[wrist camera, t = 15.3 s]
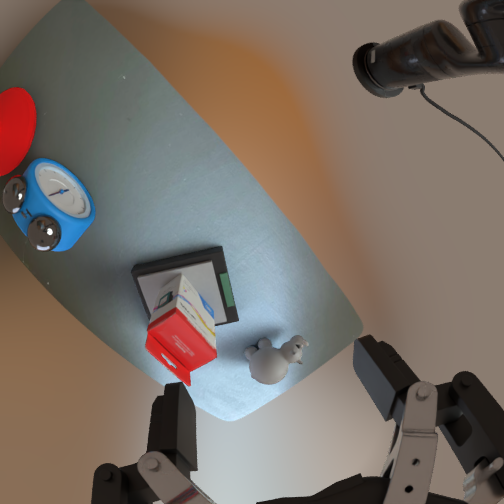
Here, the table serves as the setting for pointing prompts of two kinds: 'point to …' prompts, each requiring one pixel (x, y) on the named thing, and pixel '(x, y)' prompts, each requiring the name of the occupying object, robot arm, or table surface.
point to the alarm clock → (49, 205)
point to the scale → (197, 273)
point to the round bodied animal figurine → (273, 359)
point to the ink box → (181, 329)
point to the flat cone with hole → (15, 127)
